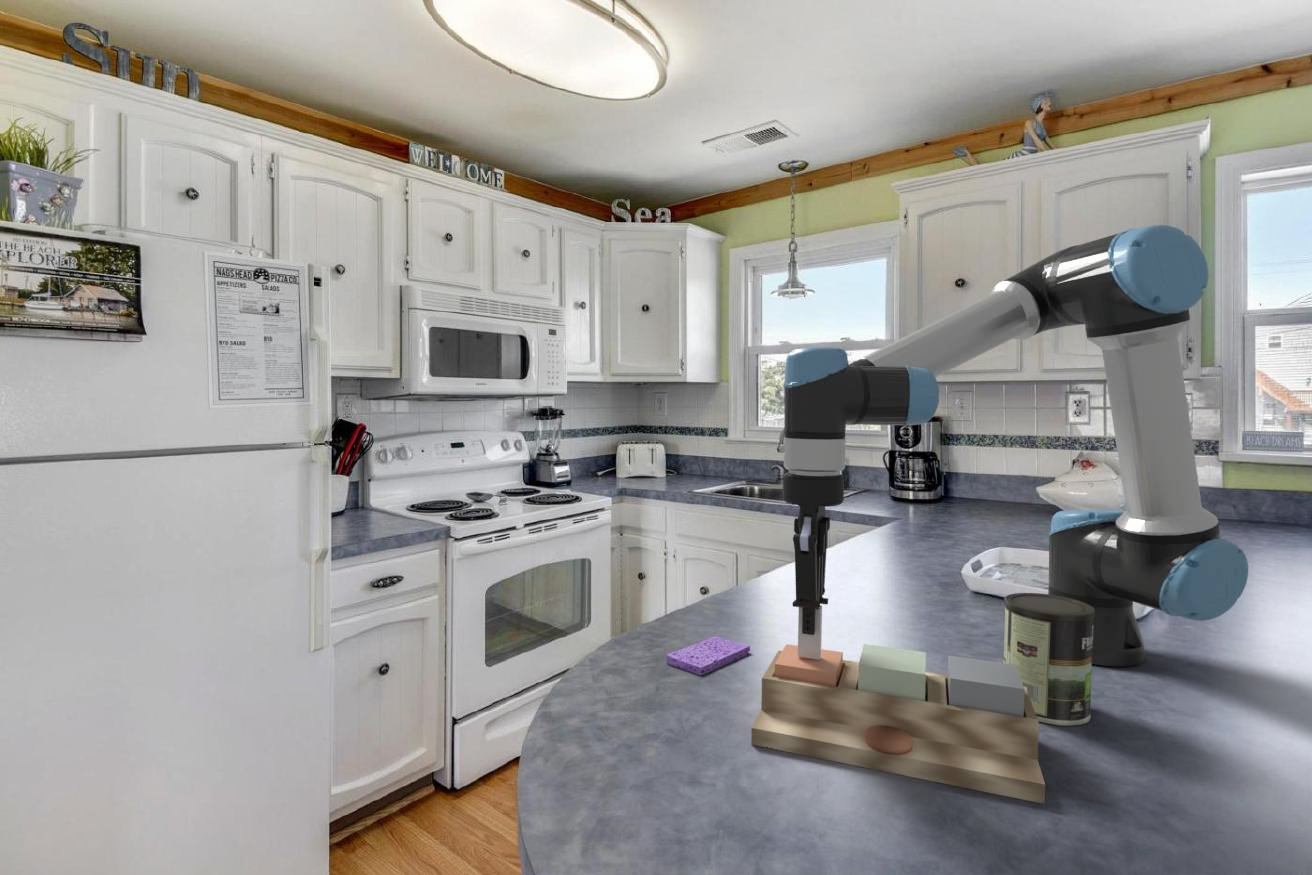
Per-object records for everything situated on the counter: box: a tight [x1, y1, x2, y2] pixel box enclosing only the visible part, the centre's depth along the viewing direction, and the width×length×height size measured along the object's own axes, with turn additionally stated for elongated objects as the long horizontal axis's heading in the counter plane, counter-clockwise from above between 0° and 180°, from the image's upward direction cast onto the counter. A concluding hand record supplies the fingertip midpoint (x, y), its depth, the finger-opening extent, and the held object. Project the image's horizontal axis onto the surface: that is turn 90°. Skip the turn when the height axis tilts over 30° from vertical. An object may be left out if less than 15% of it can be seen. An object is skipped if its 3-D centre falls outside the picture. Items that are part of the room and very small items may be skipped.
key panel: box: [750, 650, 1046, 805], centre depth 79 cm, size 30×15×6 cm, turn 68°
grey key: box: [947, 654, 1025, 717], centre depth 78 cm, size 7×7×5 cm
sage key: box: [858, 643, 927, 701], centre depth 82 cm, size 7×7×5 cm
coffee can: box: [1003, 592, 1095, 727], centre depth 88 cm, size 10×10×14 cm
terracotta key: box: [775, 643, 844, 687], centre depth 85 cm, size 7×7×5 cm
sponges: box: [665, 635, 751, 676], centre depth 105 cm, size 7×13×2 cm, turn 137°
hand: (809, 655), depth 85 cm, fingers closed
